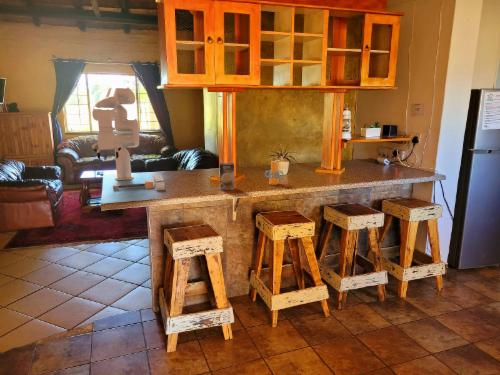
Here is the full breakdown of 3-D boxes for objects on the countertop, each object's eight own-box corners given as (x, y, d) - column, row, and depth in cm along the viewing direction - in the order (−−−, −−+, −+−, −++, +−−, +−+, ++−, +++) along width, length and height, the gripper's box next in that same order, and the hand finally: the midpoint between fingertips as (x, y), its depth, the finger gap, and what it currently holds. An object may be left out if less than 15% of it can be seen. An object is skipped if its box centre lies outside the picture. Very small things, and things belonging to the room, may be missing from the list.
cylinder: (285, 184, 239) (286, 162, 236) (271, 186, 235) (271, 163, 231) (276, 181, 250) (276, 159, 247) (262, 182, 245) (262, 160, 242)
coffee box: (219, 190, 226) (218, 164, 222) (220, 187, 232) (219, 162, 228) (234, 190, 226) (234, 164, 222) (234, 187, 232) (234, 162, 229)
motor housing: (153, 183, 244) (153, 174, 243) (161, 183, 246) (160, 174, 244) (156, 190, 226) (155, 180, 224) (164, 189, 227) (164, 180, 226)
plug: (113, 189, 229) (112, 183, 228) (153, 186, 236) (152, 180, 235) (113, 191, 225) (112, 184, 224) (153, 187, 233) (153, 181, 232)
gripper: (121, 129, 221) (123, 157, 225) (90, 130, 215) (92, 159, 219) (121, 130, 215) (123, 159, 218) (89, 130, 209) (92, 160, 212)
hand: (108, 159), depth 219 cm, fingers open, 9 cm apart
